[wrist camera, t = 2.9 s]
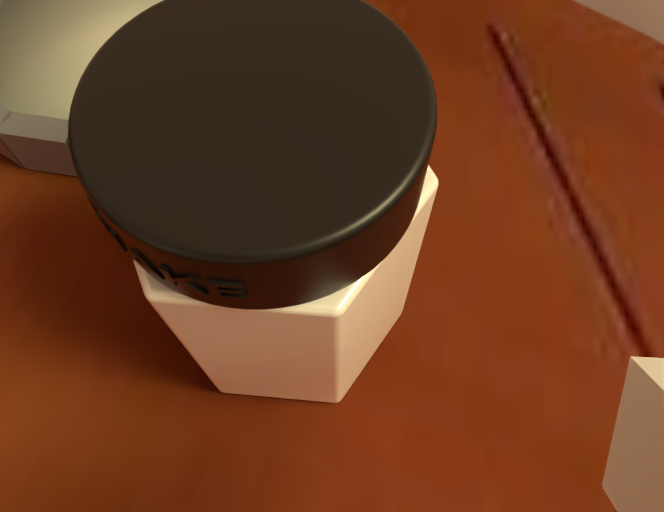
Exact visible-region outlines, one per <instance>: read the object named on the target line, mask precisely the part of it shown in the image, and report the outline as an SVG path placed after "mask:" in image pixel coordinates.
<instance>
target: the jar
mask: <svg viewBox="0 0 664 512" xmlns="http://www.w3.org/2000/svg"><path fill="white" fill-rule="evenodd" d="M436 127H437V101H436V92H435V88H434V84H433V80H432V77H431V74H430V71H429V69H428V66H427V64H426V62H425V60H424V58H423V56H422V55H421V53H420V52H419V50H418V49H417V47H416V46H415V44H414V43H413V42H412V40H411V39H410V38H409V37H408V36H407V34H406V33H405V32H404V31H403V30H402V29H401V28H400V27H399V26H398V25H397V24H396V23H395V22H394V21H393V20H391V19H390V18H389V17H388V16H387V15H385V14H384V13H383V12H381V11H380V10H378V9H377V8H375V7H374V6H372V5H370V4H369V3H367V2H365V1H363V0H163V1H161V2H159V3H157V4H155V5H153V6H151V7H150V8H148V9H146V10H144V11H143V12H141V13H140V14H138V15H137V16H135V17H134V18H132V19H131V20H130V21H128V22H127V23H126V24H124V25H123V26H122V27H121V28H120V29H118V30H117V31H116V32H115V33H114V34H113V35H112V36H111V37H110V38H109V39H108V40H107V41H106V42H105V43H104V44H103V45H102V47H101V48H100V49H99V50H98V51H97V52H96V54H95V55H94V57H93V58H92V59H91V61H90V62H89V64H88V65H87V67H86V69H85V71H84V73H83V74H82V76H81V78H80V81H79V83H78V85H77V88H76V90H75V93H74V96H73V100H72V103H71V107H70V113H69V119H68V142H69V151H70V155H71V159H72V163H73V166H74V169H75V172H76V175H77V177H78V179H79V181H80V183H81V186H82V187H83V189H84V191H85V192H86V195H87V197H88V199H89V201H90V203H91V205H92V207H93V208H94V210H96V212H95V213H96V214H97V216H98V218H99V219H100V220H101V222H102V223H103V225H104V226H105V227H106V229H107V230H108V231H109V233H110V234H111V235H112V237H113V238H114V239H115V241H116V242H117V243H118V244H119V246H120V247H121V248H122V249H123V250H124V251H125V252H126V251H128V252H129V256H130V257H131V258H132V259H133V262H134V265H135V268H136V271H137V274H138V277H139V280H140V283H141V286H142V289H143V292H144V295H145V297H146V299H147V300H148V301H149V303H150V304H151V305H152V307H153V308H154V309H155V310H156V312H157V313H158V314H159V315H160V317H161V318H162V319H163V320H164V322H165V323H166V324H167V326H168V327H169V328H170V329H171V331H172V332H173V333H174V334H175V336H176V337H177V338H178V339H179V341H180V342H181V343H182V345H183V346H184V347H185V348H186V350H187V351H188V352H189V353H190V355H191V356H192V357H193V358H194V360H195V361H196V362H197V363H198V365H199V366H200V367H201V369H202V370H203V371H204V372H205V374H206V375H207V376H208V377H209V379H210V380H211V381H212V382H213V384H214V385H215V386H216V388H217V389H218V390H219V391H220V392H223V393H232V394H244V395H255V396H266V397H276V398H287V399H298V400H309V401H319V402H329V403H337V402H339V401H341V400H342V398H343V397H344V395H345V394H346V392H347V391H348V389H349V388H350V387H351V385H352V384H353V382H354V381H355V379H356V378H357V376H358V375H359V374H360V372H361V371H362V369H363V368H364V366H365V365H366V364H367V362H368V361H369V359H370V358H371V356H372V355H373V353H374V352H375V351H376V349H377V348H378V346H379V345H380V343H381V342H382V340H383V339H384V338H385V336H386V335H387V333H388V332H389V330H390V329H391V328H392V326H393V325H394V323H395V322H396V320H397V319H398V318H399V316H400V315H401V313H402V311H403V307H404V304H405V300H406V297H407V293H408V290H409V286H410V283H411V279H412V276H413V272H414V269H415V265H416V262H417V258H418V255H419V251H420V248H421V244H422V241H423V237H424V234H425V230H426V227H427V223H428V220H429V216H430V213H431V209H432V206H433V202H434V199H435V195H436V192H437V188H438V179H437V177H436V175H435V174H434V172H433V171H432V169H431V168H430V166H429V165H428V164H429V160H430V156H431V151H432V147H433V143H434V139H435V134H436Z"/></svg>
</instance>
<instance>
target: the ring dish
mask: <svg viewBox="0 0 664 512" xmlns="http://www.w3.org/2000/svg"><path fill="white" fill-rule="evenodd" d="M161 1H163V0H0V153H1V154H2V155H4V156H5V157H7V158H8V159H10V160H12V161H13V162H15V163H16V164H18V165H20V166H21V167H23V168H24V167H25V168H26V169H30V170H37V171H43V172H50V173H56V174H63V175H69V176H76V177H77V175H76V172H75V169H74V166H73V163H72V159H71V155H70V151H69V142H68V119H69V113H70V107H71V103H72V100H73V96H74V93H75V90H76V88H77V85H78V83H79V81H80V78H81V76H82V74H83V73H84V71H85V69H86V67H87V65H88V64H89V62H90V61H91V59H92V58H93V57H94V55H95V54H96V52H97V51H98V50H99V49H100V48H101V47H102V45H103V44H104V43H105V42H106V41H107V40H108V39H109V38H110V37H111V36H112V35H113V34H114V33H115V32H116V31H117V30H118V29H120V28H121V27H122V26H123V25H124V24H126V23H127V22H128V21H130V20H131V19H132V18H134V17H135V16H137V15H138V14H140V13H141V12H143V11H144V10H146V9H148V8H150V7H151V6H153V5H155V4H157V3H159V2H161Z"/></svg>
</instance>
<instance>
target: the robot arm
mask: <svg viewBox="0 0 664 512" xmlns="http://www.w3.org/2000/svg"><path fill="white" fill-rule="evenodd" d="M602 487H603V489H604V490H605V492H606V494H607V495H608V497H609V499H610V501H611V502H612V504H613V506H614V507H615V509H616V511H617V512H664V358H650V357H631V356H630V360H629V365H628V369H627V374H626V379H625V383H624V388H623V392H622V397H621V401H620V406H619V410H618V415H617V420H616V424H615V429H614V433H613V438H612V442H611V447H610V451H609V456H608V461H607V465H606V470H605V474H604V479H603V483H602Z"/></svg>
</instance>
